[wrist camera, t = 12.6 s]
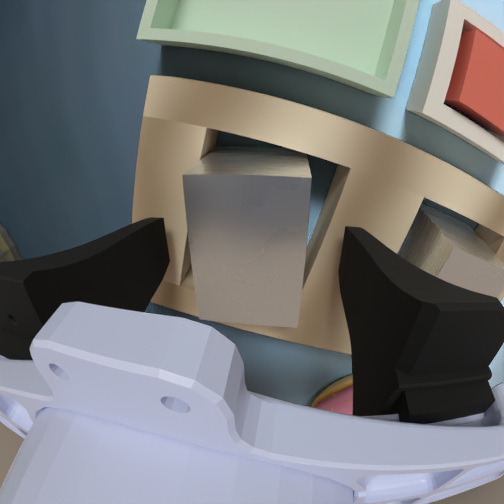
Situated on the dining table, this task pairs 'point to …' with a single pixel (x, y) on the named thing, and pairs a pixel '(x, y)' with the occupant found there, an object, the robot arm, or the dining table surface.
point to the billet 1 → (248, 233)
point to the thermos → (7, 247)
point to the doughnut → (337, 397)
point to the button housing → (440, 71)
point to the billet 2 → (452, 252)
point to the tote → (295, 34)
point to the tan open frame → (336, 203)
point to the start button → (479, 81)
